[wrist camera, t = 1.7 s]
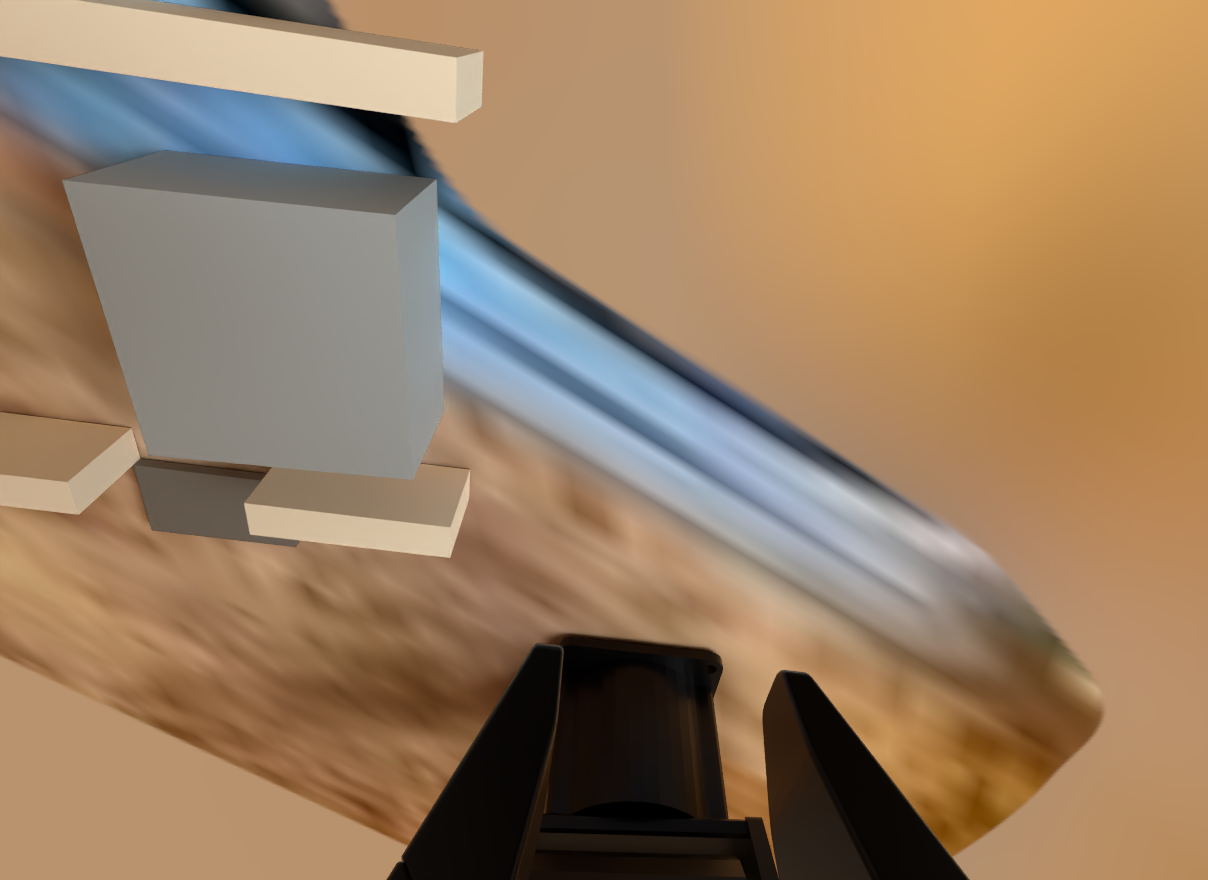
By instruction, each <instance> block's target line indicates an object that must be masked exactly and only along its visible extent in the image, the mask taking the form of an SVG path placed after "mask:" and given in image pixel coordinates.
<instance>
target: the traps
mask: <svg viewBox="0 0 1208 880" xmlns="http://www.w3.org/2000/svg"><path fill="white" fill-rule="evenodd" d="M133 467H134V471H135V474H136V477H137V481H138V484H139V488H140V491H141V495H142V498H143V501H144V505H145V508H146V512H147V515H148V518H149V522H150V525H151V529H152V530H153V531H162V532H170V533H179V534H188V535H196V536H205V537H213V538H222V539H231V540H239V541H248V542H257V543H265V544H274V545H283V546H291V547H296V546H297V545H298V543H299V541H300V540H292V539H284V538H275V537H267V536H258V535H250V532H249V527H248V522H247V516H246V511H245V506H244V502H245V501H246V500H247V499H248V497H249V496H250V495H251V493H252V492H253V491H254V490H255V488H256V487H257V486H258V484H259V483H260V482H261V481H262V479H263V478H264V477H265V475H266V474H264V473H256V472H248V471H239V470H231V469H223V468H214V467H206V466H198V465H190V464H181V463H173V462H165V461H156V460H148V459H139V460H138V461H137V462H136V463H135V464H134V465H133Z"/></svg>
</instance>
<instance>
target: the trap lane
mask: <svg viewBox="0 0 1208 880" xmlns="http://www.w3.org/2000/svg"><path fill="white" fill-rule="evenodd" d="M0 56H3V57H9V58H16V59H23V60H30V61H37V62H44V63H50V64H57V65H64V66H71V67H78V68H84V69H91V70H98V71H105V72H112V73H118V74H125V75H132V76H139V77H146V78H152V79H159V80H166V81H173V82H180V83H186V84H193V85H200V86H207V87H214V88H221V89H227V90H234V91H241V92H248V93H255V94H261V95H268V96H275V97H282V98H289V99H295V100H302V101H309V102H316V103H323V104H329V105H336V106H343V107H350V108H357V109H364V110H370V111H377V112H384V113H391V114H398V115H404V116H411V117H418V118H425V119H432V120H439V121H445V122H452V123H457V122H458V121H460V120H461V119H463V118H464V117H466V116H467V115H469V114H471V113H472V112H474V111H475V110H477V109H478V108H480V107H481V106H482V78H483V51H481V50H474V49H468V48H461V47H455V46H448V45H441V44H435V43H428V42H421V41H415V40H409V39H402V38H396V37H388V36H382V35H376V34H369V33H363V32H356V31H350V30H343V29H336V28H330V27H323V26H317V25H310V24H304V23H297V22H290V21H284V20H277V19H271V18H264V17H258V16H251V15H244V14H238V13H231V12H225V11H218V10H212V9H205V8H198V7H192V6H185V5H179V4H172V3H166V2H159V1H152V0H0ZM139 459H140V456H139V452H138V449H137V445H136V442H135V438H134V435H133V431H132V428H126V427H118V426H110V425H102V424H93V423H85V422H77V421H69V420H61V419H53V418H45V417H36V416H28V415H20V414H12V413H4V412H0V506H9V507H17V508H26V509H35V510H43V511H52V512H60V513H69V514H78V515H79V514H80V513H81V512H82V511H84V510H85V509H86V508H87V507H88V506H89V505H90V504H91V503H92V502H93V501H94V500H96V499H97V498H98V497H99V496H100V495H101V494H102V493H103V492H104V491H105V490H106V489H108V488H109V487H110V486H111V485H112V484H113V483H114V482H115V481H116V480H117V479H119V478H120V477H121V476H122V475H123V474H124V473H125V472H126V471H127V470H128V469H129V468H131V467H132V466H133V465H134V464H135V463H136V462H137V461H138V460H139ZM469 489H470V470H468V469H460V468H452V467H444V466H436V465H428V464H420V465H419V468H418V470H417V472H416V474H415V476H414V479H413V480H408V479H397V478H386V477H375V476H365V475H354V474H343V473H332V472H321V471H311V470H300V469H289V468H278V467H272V468H271V469H270V470H269V472H268V473H267V474H266V475H265V477H264V478H263V479H262V481H261V482H260V483H259V484H258V486H257V487H256V488H255V490H254V491H253V492H252V493H251V495H250V496H249V497H248V499H247V500H246V501H245V502H244V506H245V511H246V516H247V522H248V527H249V532H250V535H258V536H267V537H275V538H284V539H292V540H301V541H310V542H318V543H327V544H335V545H344V546H353V547H361V548H370V549H378V550H387V551H396V552H404V553H413V554H421V555H430V556H439V557H447V558H450V556H451V553H452V550H453V547H454V544H455V541H456V538H457V535H458V531H459V528H460V525H461V522H462V519H463V516H464V513H465V510H466V507H467V504H468V500H469Z"/></svg>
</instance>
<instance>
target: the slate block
mask: <svg viewBox="0 0 1208 880" xmlns="http://www.w3.org/2000/svg"><path fill="white" fill-rule="evenodd" d="M62 182H63V185H64V188H65V192H66V195H67V198H68V201H69V204H70V207H71V211H72V214H73V217H74V220H75V223H76V226H77V230H78V233H79V236H80V239H81V242H82V245H83V249H84V252H85V255H86V258H87V261H88V264H89V268H90V271H91V274H92V277H93V280H94V283H95V287H96V290H97V293H98V296H99V299H100V302H101V306H102V309H103V312H104V315H105V318H106V321H107V325H108V328H109V331H110V334H111V337H112V340H113V344H114V347H115V350H116V353H117V356H118V359H119V362H120V366H121V369H122V372H123V375H124V378H125V381H126V385H127V388H128V391H129V394H130V397H131V400H132V404H133V407H134V410H135V413H136V416H137V419H138V423H139V426H140V429H141V432H142V435H143V438H144V442H145V445H146V448H147V451H148V454H149V456H160V457H171V458H181V459H192V460H203V461H214V462H225V463H235V464H246V465H257V466H268V467H278V468H289V469H300V470H311V471H321V472H332V473H343V474H354V475H365V476H375V477H386V478H397V479H408V480H413V479H414V476H415V474H416V472H417V470H418V468H419V465H420V463H421V461H422V459H423V457H424V454H425V452H426V450H427V448H428V446H429V443H430V441H431V439H432V437H433V435H434V433H435V430H436V428H437V426H438V424H439V422H440V419H441V417H442V415H443V413H444V384H443V355H442V326H441V297H440V268H439V238H438V209H437V180H436V179H431V178H422V177H412V176H403V175H394V174H384V173H375V172H365V171H356V170H347V169H337V168H328V167H318V166H309V165H300V164H290V163H281V162H271V161H262V160H252V159H243V158H234V157H224V156H215V155H205V154H196V153H187V152H177V151H168V150H164V151H160V152H157V153H153V154H150V155H147V156H143V157H140V158H136V159H133V160H129V161H126V162H123V163H119V164H116V165H112V166H109V167H106V168H102V169H99V170H95V171H92V172H89V173H85V174H82V175H78V176H75V177H72V178H68V179H65V180H62Z"/></svg>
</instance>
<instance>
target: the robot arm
mask: <svg viewBox="0 0 1208 880" xmlns="http://www.w3.org/2000/svg"><path fill="white" fill-rule="evenodd" d="M571 649H572V650H571ZM722 671H723V665H722V659H721V657H720V656H719V655H717V654H715V653H711V652H702V651H693V650H684V649H675V648H666V647H657V646H648V645H639V644H630V643H621V642H612V641H603V640H594V639H585V638H576V637H568V638H565V639H563V640H562V641H561V642H560V644H559V645H552V644H543V643H537V644H535V645H534V646H533V647H532V649H531V650H530V652H529V654H528V655H527V657H526V658H525V660H524V662H523V663H522V665H521V666H520V668H519V670H518V671H517V673H516V674H515V676H514V678H513V679H512V681H511V682H510V684H509V686H508V687H507V689H506V690H505V692H504V694H503V695H502V697H501V698H500V700H499V701H498V703H497V705H496V706H495V708H494V709H493V711H492V713H491V714H490V716H489V717H488V719H487V721H486V722H485V724H484V725H483V727H482V729H481V730H480V732H479V733H478V735H477V737H476V738H475V740H474V741H473V743H472V745H471V746H470V748H469V749H468V751H467V753H466V754H465V756H464V757H463V759H462V761H461V762H460V764H459V765H458V767H457V769H456V770H455V772H454V773H453V775H452V777H451V778H450V780H449V781H448V783H447V785H446V786H445V788H444V789H443V791H442V793H441V794H440V796H439V797H438V799H437V801H436V802H435V804H434V805H433V807H432V809H431V810H430V812H429V813H428V815H427V817H426V818H425V820H424V821H423V823H422V824H421V826H420V828H419V829H418V831H417V832H416V834H415V836H414V837H413V839H412V840H411V842H410V844H409V845H408V847H407V848H406V850H405V852H404V853H403V855H402V862H398V863H397V864H396V866H395V867H394V869H393V871H392V872H391V874H390V875H389V877H388V878H387V880H969V878H968V877H967V876H966V874H965V873H964V872H963V871H962V869H961V868H960V867H959V865H958V864H957V863H956V862H955V860H954V859H953V858H952V856H951V855H950V854H949V853H948V851H947V850H946V849H945V847H944V846H943V845H942V844H941V842H940V841H939V840H938V838H937V837H936V836H935V835H934V833H933V832H932V831H931V829H930V828H929V827H928V826H927V824H926V823H925V822H924V820H923V819H922V818H921V817H920V815H919V814H918V813H917V811H916V810H915V809H914V808H913V806H912V805H911V804H910V802H909V801H908V800H907V799H906V797H905V796H904V795H903V794H902V792H901V791H900V790H899V788H898V787H897V786H896V785H895V783H894V782H893V781H892V779H891V778H890V777H889V776H888V774H887V773H886V772H885V770H884V769H883V768H882V767H881V765H880V764H879V763H878V761H877V760H876V759H875V758H874V756H873V755H872V754H871V752H870V751H869V750H868V749H867V747H866V746H865V745H864V743H863V742H862V741H861V740H860V738H859V737H858V736H857V734H856V733H855V732H854V731H853V729H852V728H851V727H850V725H849V724H848V723H847V722H846V720H845V719H844V718H843V716H842V715H841V714H840V713H839V711H838V710H837V709H836V707H835V706H834V705H833V704H832V702H831V701H830V700H829V699H828V697H827V696H826V695H825V693H824V692H823V691H822V690H821V688H820V687H819V686H818V684H817V683H816V682H815V681H814V679H813V678H812V677H811V676H810V675H809V674H807V673H804V672H797V671H788V670H781V671H780V672H779V673H778V674H777V675H776V677H775V680H774V682H773V685H772V687H771V690H770V692H769V694H768V697H767V699H766V702H765V705H764V709H763V735H764V748H765V762H766V776H767V789H768V803H769V816H770V826H771V834H772V841H773V847H774V853H775V858H776V864H777V870H778V874H777V871H776V867H775V863H774V860H773V856H772V852H771V849H770V845H769V841H768V838H767V834H766V831H765V827H764V823H763V820H762V817H745V820H738V819H728V811H727V803H726V795H725V788H724V780H723V772H722V764H721V756H720V749H719V741H718V733H717V725H716V718H715V710H714V702H713V698H714V695H715V692H716V689H717V686H718V683H719V680H720V677H721V674H722ZM778 875H779V878H778Z"/></svg>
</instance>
